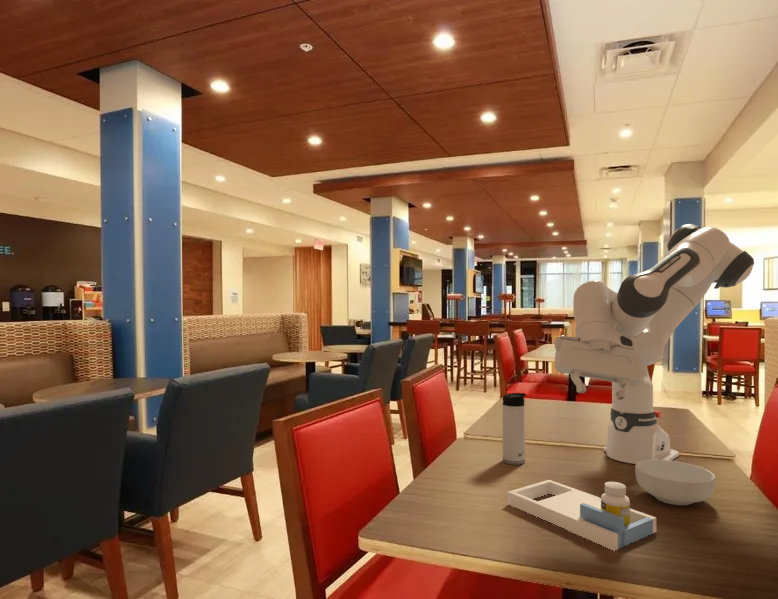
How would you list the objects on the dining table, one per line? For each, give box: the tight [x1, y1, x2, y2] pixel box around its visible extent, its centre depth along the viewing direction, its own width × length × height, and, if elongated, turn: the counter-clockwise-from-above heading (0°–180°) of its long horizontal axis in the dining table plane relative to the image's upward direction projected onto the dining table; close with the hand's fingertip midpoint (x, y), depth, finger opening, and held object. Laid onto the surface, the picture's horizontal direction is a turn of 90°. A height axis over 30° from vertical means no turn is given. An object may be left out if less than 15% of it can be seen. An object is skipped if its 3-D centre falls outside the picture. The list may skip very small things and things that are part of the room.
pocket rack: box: [507, 479, 657, 552], centre depth 114 cm, size 14×27×6 cm, turn 33°
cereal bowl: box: [634, 459, 716, 506], centre depth 124 cm, size 17×17×7 cm
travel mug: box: [502, 392, 527, 466], centre depth 153 cm, size 6×7×20 cm
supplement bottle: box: [600, 481, 631, 526], centre depth 106 cm, size 5×5×10 cm
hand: (601, 395), depth 118 cm, fingers open, 8 cm apart
